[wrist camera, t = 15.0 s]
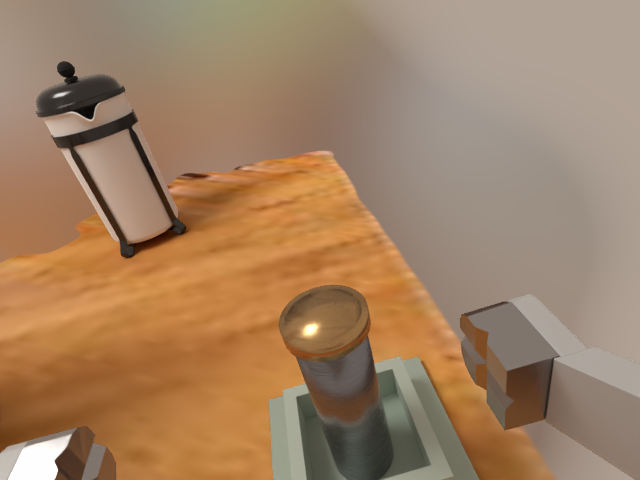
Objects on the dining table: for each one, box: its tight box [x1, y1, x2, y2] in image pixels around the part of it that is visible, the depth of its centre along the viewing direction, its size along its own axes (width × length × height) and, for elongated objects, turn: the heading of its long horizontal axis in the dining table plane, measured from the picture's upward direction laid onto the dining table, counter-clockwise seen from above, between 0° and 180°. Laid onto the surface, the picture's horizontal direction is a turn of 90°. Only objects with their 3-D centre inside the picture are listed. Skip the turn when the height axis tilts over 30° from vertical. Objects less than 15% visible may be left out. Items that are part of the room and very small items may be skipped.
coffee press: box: [36, 61, 186, 257], centre depth 67 cm, size 17×16×30 cm
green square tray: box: [269, 356, 479, 480], centre depth 30 cm, size 14×14×4 cm
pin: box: [279, 285, 394, 480], centre depth 27 cm, size 5×5×14 cm
